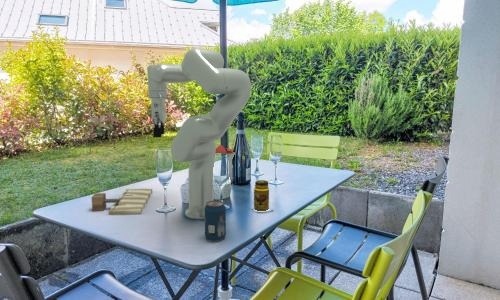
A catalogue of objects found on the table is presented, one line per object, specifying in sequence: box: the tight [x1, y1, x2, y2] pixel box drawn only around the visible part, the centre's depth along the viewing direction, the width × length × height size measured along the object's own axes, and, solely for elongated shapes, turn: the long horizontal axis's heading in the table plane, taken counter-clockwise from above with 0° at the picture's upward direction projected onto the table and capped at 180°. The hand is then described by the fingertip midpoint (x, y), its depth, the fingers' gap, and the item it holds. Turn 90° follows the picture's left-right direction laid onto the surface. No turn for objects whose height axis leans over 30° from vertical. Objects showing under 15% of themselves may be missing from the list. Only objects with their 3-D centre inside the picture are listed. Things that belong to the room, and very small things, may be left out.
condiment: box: [253, 179, 270, 211], centre depth 149 cm, size 7×8×12 cm
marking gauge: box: [91, 192, 120, 212], centre depth 148 cm, size 5×10×6 cm, turn 96°
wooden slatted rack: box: [108, 188, 153, 216], centre depth 157 cm, size 30×12×2 cm, turn 6°
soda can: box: [204, 200, 227, 242], centre depth 121 cm, size 7×7×12 cm
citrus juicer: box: [215, 144, 236, 183], centre depth 187 cm, size 16×17×20 cm
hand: (159, 135), depth 156 cm, fingers open, 9 cm apart
